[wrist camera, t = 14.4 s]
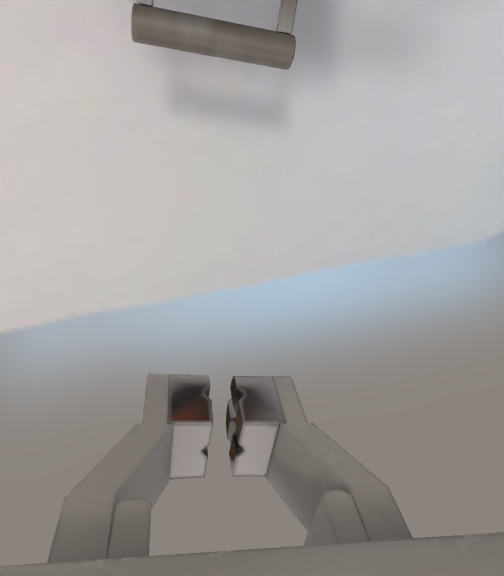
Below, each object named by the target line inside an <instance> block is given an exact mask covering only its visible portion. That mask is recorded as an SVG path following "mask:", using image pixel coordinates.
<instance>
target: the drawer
mask: <svg viewBox="0 0 504 576" xmlns="http://www.w3.org/2000/svg"><path fill="white" fill-rule="evenodd" d="M138 3H139V4H136V3H134V4H133V7H132V22H131V29H132V40H133V41H134V42H137V43H143V44H148V45H154V46H159V47H165V48H170V49H176V50H181V51H187V52H192V53H198V54H203V55H209V56H214V57H220V58H225V59H231V60H236V61H242V62H247V63H253V64H258V65H264V66H269V67H275V68H280V69H286V70H287V69H289V68H290V66H291V64H292V61H293V58H294V53H295V46H296V39H295V36H294V35H291V33H292V29H293V23H294V17H295V11H296V6H297V0H281V6H280V12H279V18H278V24H277V32H276V31H271V30H266V29H261V28H256V27H251V26H246V25H241V24H236V23H231V22H226V21H221V20H216V19H211V18H206V17H201V16H196V15H191V14H186V13H181V12H176V11H171V10H166V9H161V8H156V7H153V5H154V0H138Z"/></svg>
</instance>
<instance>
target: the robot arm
mask: <svg viewBox="0 0 504 576" xmlns="http://www.w3.org/2000/svg"><path fill="white" fill-rule="evenodd" d="M209 391H210V379H209V376H204V375H203V376H202V375H181V374H169V375H168V374H148V376H147V383H146V393H145V401H144V411H143V421H142V424H136V425H134V426H133V428H132V429H131V430H130V431H129V432H128V433H127V434H126V435H125V436H124V437H123V438H122V439H121V440H120V441H119V442H118V443H117V444H116V445H115V446H114V447H113V448H112V449H111V450H110V451H109V453H108V454H107V455H106V456H105V457H104V458H103V459H102V460H101V461H100V462H99V463H98V464H97V465H96V466H95V467H94V468H93V469H92V470H91V471H90V472H89V473H88V474H87V475H86V476H85V477H84V479H83V480H82V481H81V482H80V483H79V484H78V485H77V486H76V487H75V488H74V489H73V490H72V491H71V492H70V493H69V494H68V495H67V496H66V497H65V498H64V501H63V505H62V510H61V512H60V516H59V520H58V524H57V527H56V531H55V535H54V539H53V542H52V546H51V550H50V554H49V558H48V561H47V563H41V564H26V565H11V566H0V576H504V532H499V533H485V534H470V535H454V536H439V537H425V538H413V537H412V535H411V533H410V531H409V529H408V527H407V525H406V523H405V521H404V518H403V517H402V514H401V512H400V510H399V508H398V506H397V504H396V502H395V499H394V497H393V495H392V493H391V491H390V489H389V487H388V486H387V485H386V484H384V483H383V482H382V481H381V480H379V479H378V478H377V477H376V476H375V475H374V474H372V473H371V472H370V471H369V470H368V469H366V468H365V467H364V466H363V465H362V464H361V463H359V462H358V461H357V460H356V459H355V458H354V457H352V456H351V455H350V454H349V453H348V452H346V451H345V450H344V449H343V448H342V447H341V446H339V445H338V444H337V443H336V442H334V441H333V440H332V439H331V438H330V437H329V436H327V435H326V434H325V433H324V432H323V431H321V430H320V429H319V428H318V427H317V426H316V425H314V424H313V423H307V420H306V417H305V414H304V411H303V408H302V405H301V403H300V400H299V397H298V394H297V391H296V388H295V385H294V383H293V380H292V378H291V377H289V376H286V377H285V376H271V377H255V376H254V377H252V376H233V379H232V382H231V396H232V398H231V399H230V400H229V401H228V406H227V415H226V429H227V438H228V440H230V442H231V446H230V451H229V455H230V463H231V471H232V476H266V479H267V480H268V482H269V483H270V484H271V485H272V487H273V488H274V489H275V490H276V491H277V493H278V494H279V495H280V497H281V498H282V499H283V501H284V502H285V503H286V504H287V506H288V507H289V508H290V510H291V511H292V512H293V513H294V515H295V516H296V517H297V519H298V520H299V521H300V522H301V524H302V525H303V526H304V528H305V529H306V530H307V531H308V535H307V537H306V540H305V543H304V545H303V546H294V547H280V548H265V549H249V550H234V551H219V552H204V553H190V554H175V555H159V556H149V541H150V539H149V538H150V522H151V509H152V507H153V506H154V504H155V503H156V501H157V500H158V498H159V496H160V495H161V493H162V492H163V490H164V489H165V487H166V486H167V484H168V482H169V479H182V478H183V479H184V478H201V477H205V472H206V466H207V460H208V453H207V446H209V445H210V441H211V434H212V427H213V414H212V401H211V399H210V398H209Z"/></svg>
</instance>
